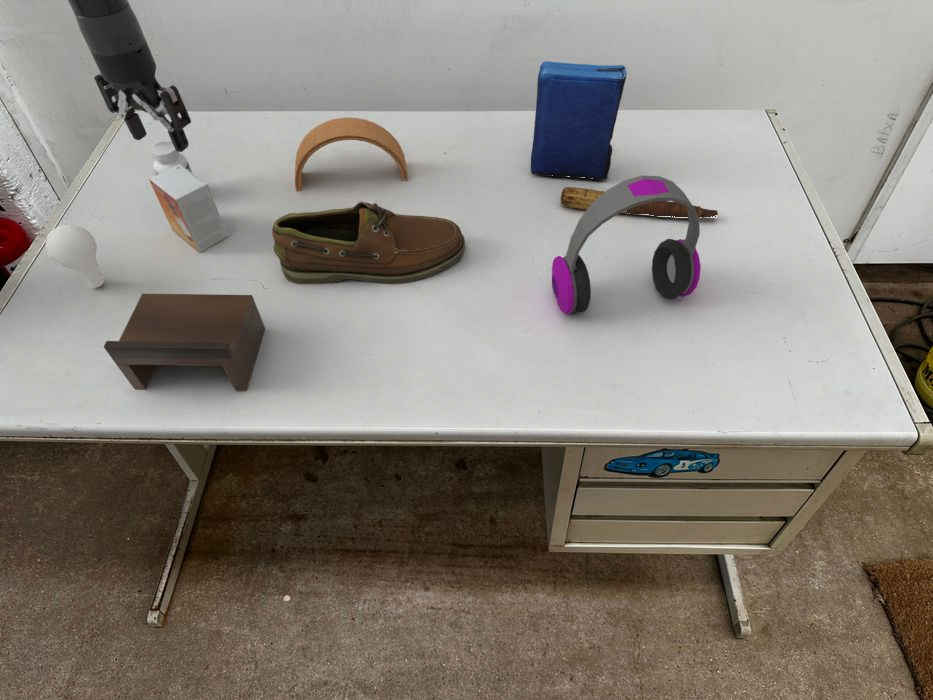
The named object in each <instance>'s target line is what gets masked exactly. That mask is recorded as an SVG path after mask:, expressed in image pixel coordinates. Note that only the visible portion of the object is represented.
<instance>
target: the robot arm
mask: <svg viewBox="0 0 933 700" xmlns="http://www.w3.org/2000/svg"><path fill="white" fill-rule="evenodd" d="M67 2H68V4H69V6H70V8H71V10H72V11H73V15H74V17H75V20H76V22H77V25H78V28H79V30H80V31H79V32H80V33H81V36H82V38H83V39H84V42H85V43H86V46H87V47H88V50H89V52H90V54H91V56H92V58H93V61H94V63H95V64H96V66H97V68H98V70H99V73H98V74H96V75H95V76H94V77H93V78H94V79H93V80H94V82H95V84H96V86H97V88H98V89H99V93H100V94H101V96H102V98H103V101H104V103H105V105H106V108H107V109H108V111H109V112H110V113H112V114H115V113H116V114H118V116H119V118H120V119H122V120H123V121H124V123H125V125H126V127H127V129H128V131H129V133H130V134H131V137H132V139H134V140H136V141H141V140H142V139H143V138H145V137H146V136H147V131H146V128H145V126H144V124H143V121H142V119H141V118H140V114H139V113H138V112H137V111H143V112H144V113H147V114H148V115H150V116H151V117H152V119H153V120H154V121H157V122H160V123H161V124H162V125H163V126H164V127H165V128H166V129H167V134H168V135H169V138H170V140H171V142H172V143H173V145H174V147H175V150H176V151H179V153H182V152H183V151H185V150H186V149H188V147H189V144H190V143H189V140H188V137H187V135H186V132H185V130H184V128H186V127H187V126H189V125H190V124H191V123H192V119H191V117H190V115H189V112H188V110H187V108H186V105H185V103H184V100H183V98H182V97H181V94H180V92H179V89H178V88H177V87H176V86H175V85H174V84H173V85H170V86H169V87H163V86H162V85H161V84H160V83H159V81H158V80H157V78H156V70H157V64H156V61H155V59H154V56H153V53H152V51H151V49H150V47H149V44H148V42H147V39H146V36H145V35H144V32H143V29H142V27H141V25H140V22H139V20H138V17H137V15H136V14H135V11H134V10H133V9H132V7H131V5H130V3H129V0H67ZM113 97H114V99H115V101H113ZM161 105H162V107H163V108H162V109H161V110H157V109H158V108H160V106H161ZM166 115H168V116H169V118H170V120H169V119H168V118H167V117H166ZM179 115H180V116H179Z"/></svg>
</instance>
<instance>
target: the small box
mask: <svg viewBox="0 0 933 700" xmlns="http://www.w3.org/2000/svg"><path fill="white" fill-rule="evenodd" d="M192 173H193V172H192ZM192 173H191V172H190V171H188V170H187V169H186V168H185V167H184V166H182V165H181V164H179V165H177V166H175V167H173V168H170V169H168V170H166V171H164V172H162V173H160V174H158V175H157V174H155V175H153V176H152V177H149V178H148V181H149V183H150V185H151V187H152V189H153V192H154V193H155V195H156V198H157V200H158V203H159V205H160V207H161V209H162V211H163V213H164V215H165V218H166V220H167V222H168V224H169V226H170V228H171V230H172V232H173V233H174V234H176V235H177V236H179V237H180V238H181V239H182V240H183V241H185V243H187V244H188V245H189V246H190V247H192V248H193V249H194V250H195V251H196V252H197V253H201V252H203V251H205V250H206V249H208V248H210V247H212V246H214V245H215V244H218V243H219V242H221V241H223V240H225V239H226V238H228V234H227V230H226V228H225V225H224V222H223V220H222V217H221V215H220V212H219V210H218V207H217V205H216V202H215V200H214V199H215V198H214V197H213V193H212V191H211V188H210V186H209V184H208V183H206V181H204V180H202V179H201V178H199V177H198V176H196V175H195V174H194V173H193V174H192Z"/></svg>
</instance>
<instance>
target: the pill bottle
mask: <svg viewBox="0 0 933 700" xmlns="http://www.w3.org/2000/svg"><path fill="white" fill-rule="evenodd" d="M150 152H151V155H152V157H153V159H154V161H153V170H154V172H155V175H158V174H160V173H162V172H164V171H166V170H168V169H170V168H173V167H175V166H177V165H179V164H181V165H182V166H184V167H185V168H186V169H187V170H188V171H190V172H191V173H192V174H194V173H193V171H192V168H191V166H190V163H189V161H188V159H187V157H186V156H185V155H184V154H182V153H181V152H179V151H176V150H175V147H174V145H173V143H172V141H161V142H157V143H156V144H153V146H152V147H151V149H150Z"/></svg>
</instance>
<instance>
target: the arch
mask: <svg viewBox="0 0 933 700" xmlns="http://www.w3.org/2000/svg"><path fill="white" fill-rule="evenodd" d="M342 141H359V142H365V143H368V144H370V145H374V146H376V147H378V148H380V149H381V150H383V151H384V152H385V153H387V154H388V155H389V156H390V157H391V158H392V159H393V160H394V161H395V163H396V164H397V166H398V168H399V170H400V174H401V178H402V181H403V180H405V179H408V180H409V177H408V170H407V164H406V157H405V153H404V151H403V148H402V146H401V145H400V143H399V141H398V139H396V137H395V136H394V135H393V134H392V133H391V132H389V130H387V129H386V128H385V127H384V126H381V125H380V124H378V123H376V122H373V121H371V120H367V119H364V118H359V117H337V118H333V119H329V120H326V121H324V122H322V123H320V124H318V125H316V126H314V127H313V128H312V129H311V130H310V131H309V132H308V133H306V135H305V136H304V137H303V139H302V140H301V141H300V143H299V145H298V148H297V151H296V155H295V163H294V165H295V166H294V185H295V186H294V187H295V191H296V192H300V191H302V190H303V177H304V174H303V170H304V168H305V165H306V164H307V162H308V161H309V159H310V158H311V157H312V156H313V155H314V153H316V152H317V151H319V150H320V149H321V148H323V147H325V146H327V145H330V144H333V143H336V142H342ZM405 181H406V180H405Z"/></svg>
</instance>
